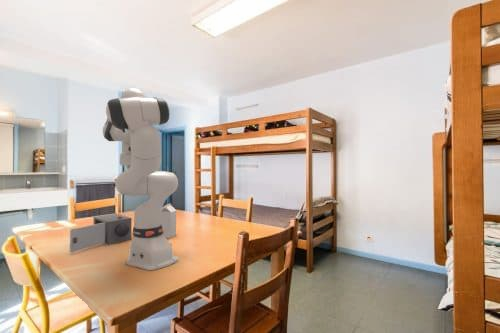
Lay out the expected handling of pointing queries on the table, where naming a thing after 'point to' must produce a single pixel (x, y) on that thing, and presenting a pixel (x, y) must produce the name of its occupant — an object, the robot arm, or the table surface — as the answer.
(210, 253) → the table surface
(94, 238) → the door
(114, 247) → the table surface
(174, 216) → the milk carton
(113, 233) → the housing
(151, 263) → the robot arm
